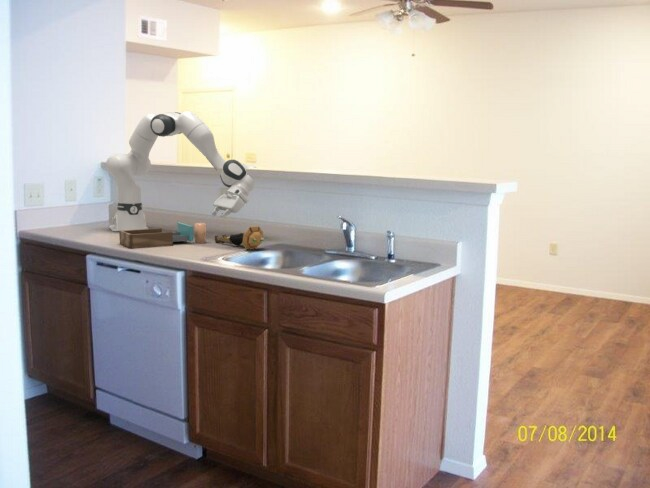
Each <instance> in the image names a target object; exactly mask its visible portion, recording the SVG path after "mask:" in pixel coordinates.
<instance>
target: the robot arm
mask: <svg viewBox="0 0 650 488" xmlns="http://www.w3.org/2000/svg"><path fill="white" fill-rule="evenodd" d="M210 129H211V128H209V127H208V126H207V124H206V123H205V122H204V121H203V120H202V119H201V118H200V117H199V116H198V115H196V114H195V113H194V112H193V111H191V110H185V111H183V112H178V111H177V112H175V111H174V112H164V113H159V114H155V113H149V112H148V113H146V114H145V115H144V116H143V117H142V118H141V120H140V121H139V122H138V124H137V125H136V127H135V129H134V131H133V133H132V134H131V136H130V139H129V140H128V144H129V147H130V148H131V150H130V152H129V153H117V154H113V155H111V156H109V157H108V158H107V160H106V162H105V166H106V170H107V172H108V173H109V174H110V175H111V176H112V177H113V179H114V181H115V183H116V187H117V195H118V196H117V197H118V202H117V208H116V209H117V211H116V212H115V214H114V215H113V217H111V219H110V221H111V223H113V224H111V225H109V226H108V229H110V230H111V232H119V231H124V230H140V229H149V227H148V226H147V222H146V214H145V212H144V211H143V203H142V189H141V186H140V185H139V184H137V183H136V181H135V178H134V176H141V175H145V174H147V173H148V172H149V171H150V170H151V166H152V163H151V160H150V158H149V157H150V152H151V150H152V149H153V146H154V144H155V142H156V141H157V139H158V138H159V137H162V138H163V137H172V136H173V137H174V136H175V135H181V134H183V135H184V136H185V137H186V139H187V140H189V142H190V143H191V144H192V145H193V146H194V147H195V148H196V150H197V149H198V151H199V152H200V153H201V154H202V155H203V157H205V158H206V159H207V161H208V162H209V163H210V164H211V166H212V167H213V168H214V170H216V171H217V170H218V168H223V170H222V173H220V175H219V177H220V180H221V182H222V185H224V186H225V187H226V188H227V191H226V193H224V194H221V195H220V196H219V197H218V198H217V199H216V200H215V201H214V202H213V206H214V209H213V211H212V212H211V215H212V216H213V217H216V216H217V215H218V212H219V211H224V212H223V213H221V214H220V217H221V219H225V218H226V217H227V216H229V215H230V214H231V213H234V214H237V213H238V212H239V211H240V210H241V209H242V208H244V206H245V204H247V203H248V202H249V198H248V195H249V194H250V192H252V191H253V190H254V189H255V188H254V181H253V179H252V178H251V177H250V176H249V175H247V174H246V171H245V169H249V168H257V167H256V166H255V165H248V164H244V163H242V162H239V161H238V160H236V159H229V160H227V161H226V160H225V158H223V156H222V155H221V154H220V153H219V151H218V149H217V147H216V146H217V145H216V144H215V137H214V134H213V132H212V131H211V130H210ZM253 188H254V189H253Z"/></svg>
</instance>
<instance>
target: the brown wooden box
mask: <svg viewBox="0 0 650 488" xmlns="http://www.w3.org/2000/svg"><path fill="white" fill-rule="evenodd" d="M118 233H119V245H122V246H123V247H126V248H128V249H143V248H144V249H145V248H159V247H171V246H173V245H174V242H173V231H163V228H161V227H160V228H148V229H140V230H124V231H118Z"/></svg>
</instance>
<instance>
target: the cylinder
mask: <svg viewBox="0 0 650 488" xmlns="http://www.w3.org/2000/svg"><path fill="white" fill-rule="evenodd" d="M206 226H207V224H206V223H205V222H195V223H194V244H206V243H207V227H206Z"/></svg>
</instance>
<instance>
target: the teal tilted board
mask: <svg viewBox="0 0 650 488" xmlns="http://www.w3.org/2000/svg"><path fill="white" fill-rule="evenodd" d="M176 224H177V225H176V227H177V228H176V230H177V232H175V231H174V232H173V231H172V232H173V243H175V242H187V241H188V242H194V226H193V225H189V224H186V223H183V222H179V221H178V222H177V223H176Z"/></svg>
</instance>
